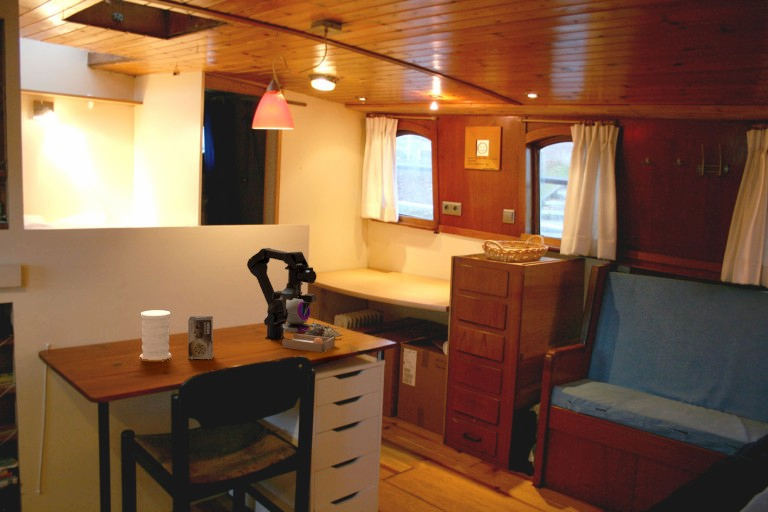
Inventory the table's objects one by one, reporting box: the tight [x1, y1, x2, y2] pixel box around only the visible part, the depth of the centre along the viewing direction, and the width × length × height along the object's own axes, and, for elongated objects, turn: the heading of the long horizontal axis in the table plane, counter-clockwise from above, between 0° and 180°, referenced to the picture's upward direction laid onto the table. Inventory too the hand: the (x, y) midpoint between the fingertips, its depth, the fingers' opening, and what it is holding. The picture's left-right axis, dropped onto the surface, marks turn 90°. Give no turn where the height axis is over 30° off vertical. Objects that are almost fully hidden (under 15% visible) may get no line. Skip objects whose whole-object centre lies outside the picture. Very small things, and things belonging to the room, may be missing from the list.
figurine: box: [302, 321, 344, 338], centre depth 302 cm, size 20×6×17 cm
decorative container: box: [139, 309, 172, 360], centre depth 255 cm, size 12×12×18 cm
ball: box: [314, 338, 323, 344], centre depth 281 cm, size 4×4×4 cm
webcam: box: [283, 298, 311, 333], centre depth 313 cm, size 13×13×15 cm
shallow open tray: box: [281, 333, 336, 353], centre depth 282 cm, size 19×12×4 cm, turn 72°
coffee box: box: [187, 315, 214, 360], centre depth 258 cm, size 9×6×16 cm
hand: (293, 315), depth 287 cm, fingers open, 9 cm apart
